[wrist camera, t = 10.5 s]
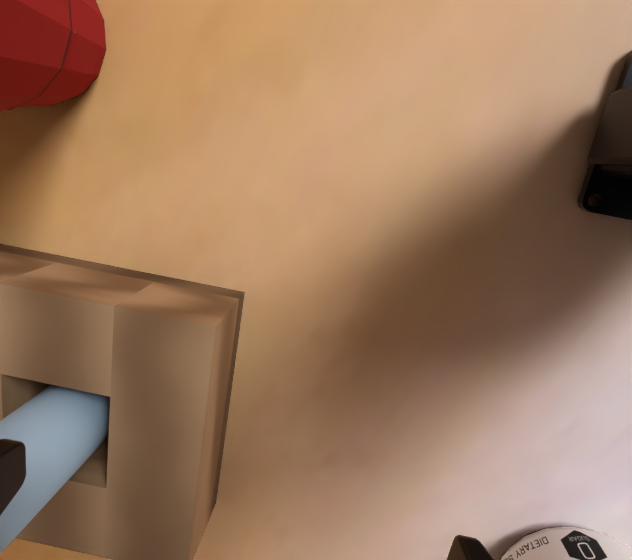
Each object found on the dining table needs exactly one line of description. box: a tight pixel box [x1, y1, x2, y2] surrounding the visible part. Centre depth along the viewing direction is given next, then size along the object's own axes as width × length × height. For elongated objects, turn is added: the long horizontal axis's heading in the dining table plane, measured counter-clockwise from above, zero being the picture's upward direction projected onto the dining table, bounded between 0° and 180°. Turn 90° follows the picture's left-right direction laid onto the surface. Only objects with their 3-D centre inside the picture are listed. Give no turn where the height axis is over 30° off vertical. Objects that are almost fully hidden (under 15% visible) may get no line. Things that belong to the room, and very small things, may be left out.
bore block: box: [0, 244, 245, 560], centre depth 21 cm, size 13×13×4 cm
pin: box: [0, 385, 110, 552], centre depth 18 cm, size 4×4×8 cm
